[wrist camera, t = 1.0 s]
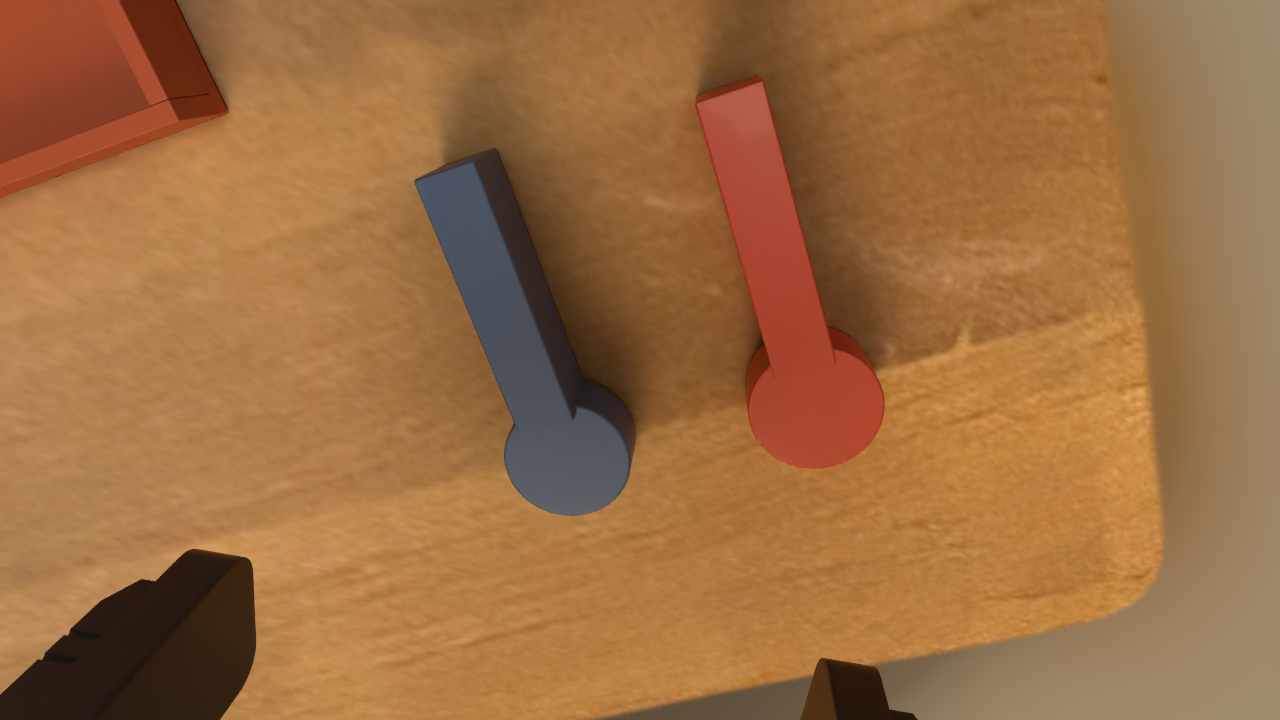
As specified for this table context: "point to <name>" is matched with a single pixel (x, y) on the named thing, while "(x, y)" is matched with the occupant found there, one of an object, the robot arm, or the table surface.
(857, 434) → the red spoon
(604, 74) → the table surface
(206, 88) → the red tray
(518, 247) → the blue spoon
